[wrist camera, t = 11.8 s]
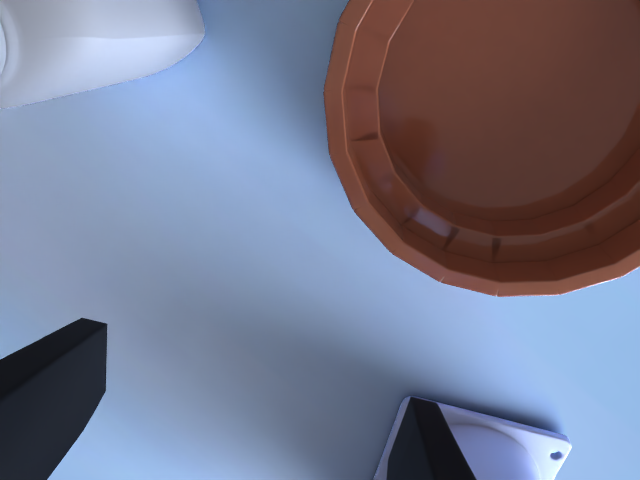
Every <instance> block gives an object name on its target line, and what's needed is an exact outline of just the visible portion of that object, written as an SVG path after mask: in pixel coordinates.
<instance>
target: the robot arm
mask: <svg viewBox="0 0 640 480" xmlns="http://www.w3.org/2000/svg"><path fill="white" fill-rule="evenodd" d="M106 357H107V324H106V323H102V322H98V321H93V320H89V319H85V318H81V319H79V320H77V321H74V322H72V323H70V324H68V325H66V326H65V327H63V328H61V329H59V330H57V331H55V332H53V333H51V334H49V335H47V336H45V337H43V338H42V339H40V340H38V341H36V342H34V343H32V344H30V345H28V346H26V347H24V348H22V349H20V350H18V351H16V352H14V353H12V354H10V355H8V356H6V357H4V358H2V359H0V480H47V479H48V478H49V476H50V475H51V474H52V472H53V471H54V470H55V468H56V467H57V466H58V464H59V463H60V462H61V460H62V459H63V457H64V456H65V455H66V453H67V452H68V451H69V449H70V448H71V447H72V445H73V444H74V443H75V441H76V440H77V438H78V437H79V436H80V434H81V433H82V431H83V430H84V428H85V427H86V425H87V423H88V422H89V420H90V418H91V416H92V415H93V413H94V411H95V409H96V408H97V406H98V404H99V402H100V400H101V399H102V397H103V395H104V393H105V391H106ZM571 447H572V446H571V443H570V441H569V438H568V437H567V436H565V435H563V434H559V433H555V432H552V431H548V430H544V429H540V428H536V427H532V426H528V425H524V424H520V423H516V422H513V421H509V420H505V419H501V418H497V417H493V416H489V415H485V414H481V413H477V412H474V411H470V410H466V409H462V408H458V407H454V406H450V405H446V404H442V403H438V402H435V401H431V400H427V399H423V398H419V397H415V396H410V397H406V398H405V399H404V400H403V401H402V403H401V406H400V408H399V411H398V414H397V417H396V419H395V422H394V425H393V428H392V430H391V433H390V436H389V438H388V441H387V444H386V447H385V449H384V452H383V455H382V458H381V460H380V463H379V466H378V468H377V471H376V474H375V477H374V479H373V480H553V479H554V478H555V476H556V474H557V472H558V471H559V469H560V467H561V465H562V464H563V462H564V460H565V459H566V457H567V455H568V453H569V452H570V450H571ZM554 451H558V452H556V453H552V452H554Z"/></svg>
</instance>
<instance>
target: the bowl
mask: <svg viewBox="0 0 640 480" xmlns="http://www.w3.org/2000/svg"><path fill="white" fill-rule="evenodd" d="M323 95H324V106H325V116H326V127H327V138H328V148H329V155H330V158H331V161H332V163H333V165H334V168H335V170H336V172H337V174H338V177H339V179H340V181H341V184H342V186H343V188H344V191H345V193H346V195H347V198H348V200H349V202H350V205H351V207H352V209H353V210H354V212H355V213H356V214H357V216H358V217H359V218H360V219H361V220H362V221H363V222H364V223H365V225H366V226H367V227H368V228H369V229H370V230H371V231H372V232H373V234H374V235H375V236H376V237H377V238H378V239H379V240H380V241H381V243H382V244H383V245H384V246H385V247H386V248H387V249H388V250H389V252H391V253H392V254H393V255H395V256H396V257H398V258H400V259H402V260H403V261H405V262H407V263H408V264H410V265H412V266H413V267H415V268H417V269H418V270H420V271H422V272H423V273H425V274H427V275H428V276H430V277H432V278H433V279H435V280H437V281H439V282H440V281H441V283H444V284H448V285H452V286H456V287H460V288H464V289H468V290H472V291H476V292H480V293H484V294H488V295H492V296H498V297H510V296H549V295H558V294H559V295H562V294H565V293H569V292H572V291H576V290H579V289H583V288H586V287H590V286H593V285H597V284H600V283H604V282H607V281H611V280H614V279H618V278H621V276H622V277H623V276H625V275H627V274H628V273H630V272H632V271H634V270H635V269H637V268H639V267H640V0H349V1H348V3H347V5H346V7H345V9H344V11H343V12H342V14H341V16H340V18H339V22H338V23H337V28H336V32H335V37H334V42H333V46H332V51H331V56H330V61H329V65H328V70H327V75H326V80H325V84H324V92H323Z"/></svg>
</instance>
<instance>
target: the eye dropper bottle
mask: <svg viewBox="0 0 640 480" xmlns="http://www.w3.org/2000/svg"><path fill="white" fill-rule="evenodd" d="M204 35H205V25H204V21H203V18H202V15H201V12H200V9H199V6H198V3H197V0H0V109H7V108H14V107H19V106H24V105H29V104H34V103H38V102H43V101H47V100H51V99H56V98H60V97H64V96H68V95H73V94H77V93H81V92H85V91H89V90H94V89H98V88H102V87H106V86H111V85H115V84H119V83H123V82H127V81H132V80H136V79H140V78H144V77H147V76H150V75H153V74H156V73H158V72H161V71H163V70H165V69H167V68H169V67H171V66H173V65H174V64H176V63H178V62H179V61H180V60H182V59H183V58H185V57H186V56H187V55H188V54H190V53H191V52H192V51H193V50H194V49H195V48H196V47H197V46H198V45H199V44H200V43H201V42H202V40H203V38H204Z"/></svg>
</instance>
